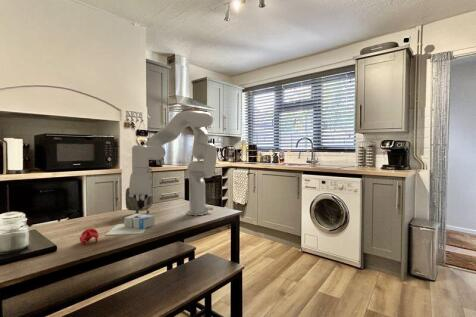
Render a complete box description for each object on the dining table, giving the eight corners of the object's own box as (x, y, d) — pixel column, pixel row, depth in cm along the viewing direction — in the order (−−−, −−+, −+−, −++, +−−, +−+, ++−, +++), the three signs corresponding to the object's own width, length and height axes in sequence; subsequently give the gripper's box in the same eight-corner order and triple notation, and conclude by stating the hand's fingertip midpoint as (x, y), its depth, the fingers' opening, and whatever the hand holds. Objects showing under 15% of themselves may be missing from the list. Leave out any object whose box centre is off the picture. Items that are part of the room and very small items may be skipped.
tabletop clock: (139, 218, 143) (138, 174, 142) (124, 218, 144) (123, 174, 143) (152, 212, 157) (151, 171, 156) (138, 211, 159) (138, 171, 158)
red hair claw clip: (102, 235, 106) (100, 225, 110) (87, 234, 102) (85, 223, 106) (93, 249, 108) (91, 238, 112) (77, 248, 103) (76, 237, 107)
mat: (149, 223, 133) (149, 223, 133) (142, 233, 117) (142, 233, 117) (117, 225, 131) (117, 224, 131) (105, 235, 115) (105, 234, 115)
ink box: (143, 219, 122) (123, 217, 126) (143, 229, 122) (123, 227, 126) (154, 214, 130) (135, 213, 134) (154, 224, 130) (136, 222, 134)
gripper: (157, 169, 129) (158, 206, 129) (126, 170, 127) (127, 207, 127) (155, 171, 121) (155, 209, 122) (121, 171, 119) (122, 210, 120)
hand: (141, 208), depth 125 cm, fingers closed
